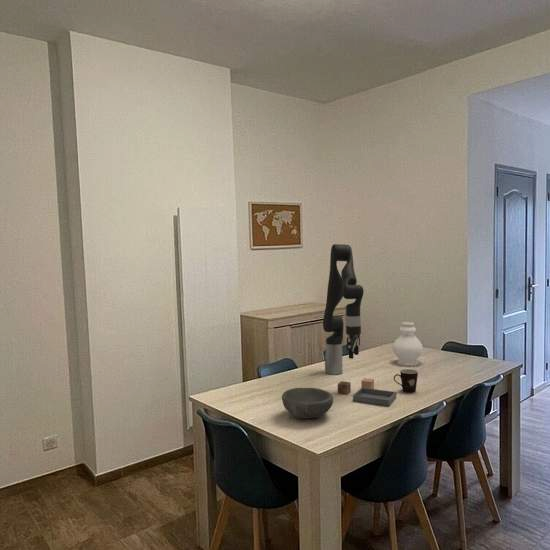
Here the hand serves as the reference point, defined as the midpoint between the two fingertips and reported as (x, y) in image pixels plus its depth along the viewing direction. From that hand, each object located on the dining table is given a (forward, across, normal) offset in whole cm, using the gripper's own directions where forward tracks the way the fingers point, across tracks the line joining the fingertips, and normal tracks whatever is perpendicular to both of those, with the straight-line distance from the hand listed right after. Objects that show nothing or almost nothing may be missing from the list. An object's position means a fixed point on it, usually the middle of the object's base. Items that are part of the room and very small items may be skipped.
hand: (353, 356), depth 244 cm
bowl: (+18, +41, -8) cm, 45 cm away
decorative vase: (+18, -66, +13) cm, 69 cm away
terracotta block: (+18, -6, +5) cm, 20 cm away
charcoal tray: (+18, +8, +13) cm, 24 cm away
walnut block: (+18, +4, -4) cm, 19 cm away
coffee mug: (+18, -11, +23) cm, 32 cm away
